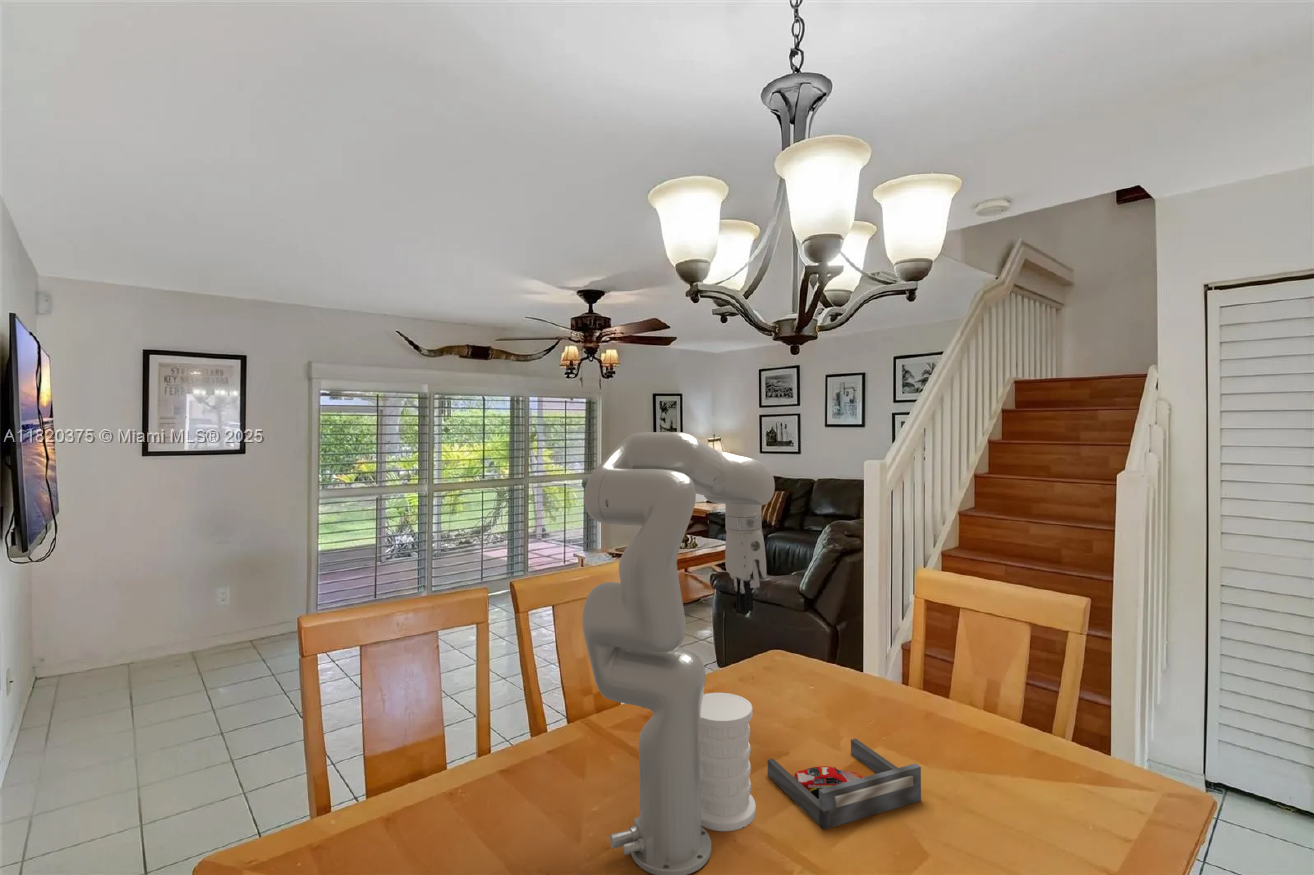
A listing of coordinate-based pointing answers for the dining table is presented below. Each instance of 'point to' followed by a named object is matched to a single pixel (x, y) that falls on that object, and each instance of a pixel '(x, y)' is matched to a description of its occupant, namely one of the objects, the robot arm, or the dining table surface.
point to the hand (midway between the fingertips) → (744, 610)
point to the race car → (823, 778)
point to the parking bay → (854, 790)
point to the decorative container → (725, 762)
